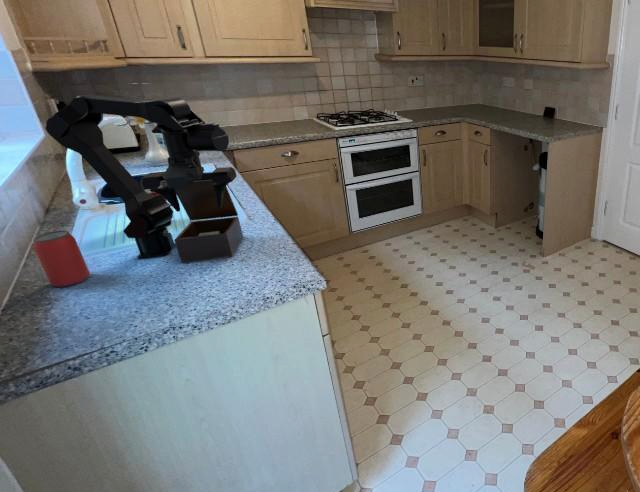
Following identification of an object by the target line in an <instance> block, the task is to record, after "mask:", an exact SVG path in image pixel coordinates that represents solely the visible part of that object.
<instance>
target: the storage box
mask: <svg viewBox="0 0 640 492" xmlns="http://www.w3.org/2000/svg"><path fill="white" fill-rule="evenodd" d="M216 231H219V232H220V234H214V235H205V236H198V235H199V234H200V233H207V232H216ZM243 239H244V234H243V230H242V226H241V223H240V218H239V216H231V217H222V218H212V219H202V220H192V221H190V222H189V223H188V224H187V225H186V226H185V227H184V229H183V230H182V231H181V232H180V233H179V234H178V235H177V236H176V237H175V238H174V239H173V241H174V243H175V244H176V245H175V247H176V250H177V253H178V257H179V258H180V262H181V264H185V263H192V262H199V261H207V260H214V259H216V260H217V259H224V258H230V257H231V258H232V257H234V255H235V253H236V251H237V249H238V248H239V246H240V244H241V242H242V241H243Z"/></svg>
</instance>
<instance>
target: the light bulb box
mask: <svg viewBox="0 0 640 492" xmlns="http://www.w3.org/2000/svg"><path fill="white" fill-rule="evenodd" d="M155 135H156V138H157V141H158V143H159V145H160V146H161V148H162V149H164V150H165V151H167V148H166V145H165V142H164V138H163V135H162V133H155ZM167 152H168V151H167Z"/></svg>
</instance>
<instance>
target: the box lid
mask: <svg viewBox="0 0 640 492" xmlns="http://www.w3.org/2000/svg"><path fill="white" fill-rule="evenodd" d="M214 184H215V182H213V181H212V180H200V181H193V185H192V186H190V187H186V188H185V187H177V188H174V189H175V192H176V195H177V198H178V201H179V203H181V206H182V207H183V209H184V212H185V213H186V215H187V217H188V219H189V221H190V222H191V221H200V220H210V219H220V218H229V217H239V213H238V211H237V209H236V206H235V203H234V202H233V201H234V200H233V199H232V197H231V194H230V192H229V189H228V187H227V186H226V188H225V191H224V196H223V202H222V206H221V207H220V208H219V206H218V204H217V199H216V193H215V189H214V187H213V185H214Z"/></svg>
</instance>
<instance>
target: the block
mask: <svg viewBox="0 0 640 492" xmlns="http://www.w3.org/2000/svg"><path fill="white" fill-rule="evenodd" d="M214 234H220V232H219V231H216V232H207V233H200V234H199V235H198V236H205V235H214Z"/></svg>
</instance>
